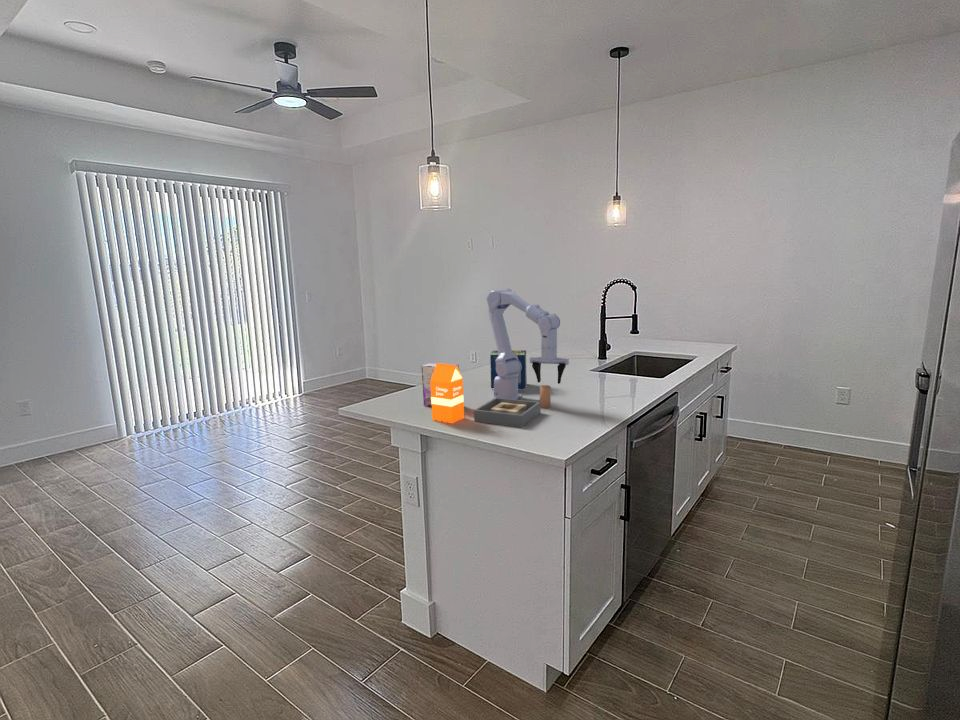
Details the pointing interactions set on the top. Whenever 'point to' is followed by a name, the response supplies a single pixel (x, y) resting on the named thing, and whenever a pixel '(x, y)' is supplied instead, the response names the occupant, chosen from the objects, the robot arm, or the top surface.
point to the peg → (545, 396)
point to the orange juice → (447, 393)
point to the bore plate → (509, 408)
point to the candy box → (428, 381)
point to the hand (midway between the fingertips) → (549, 382)
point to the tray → (505, 418)
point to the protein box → (520, 354)
